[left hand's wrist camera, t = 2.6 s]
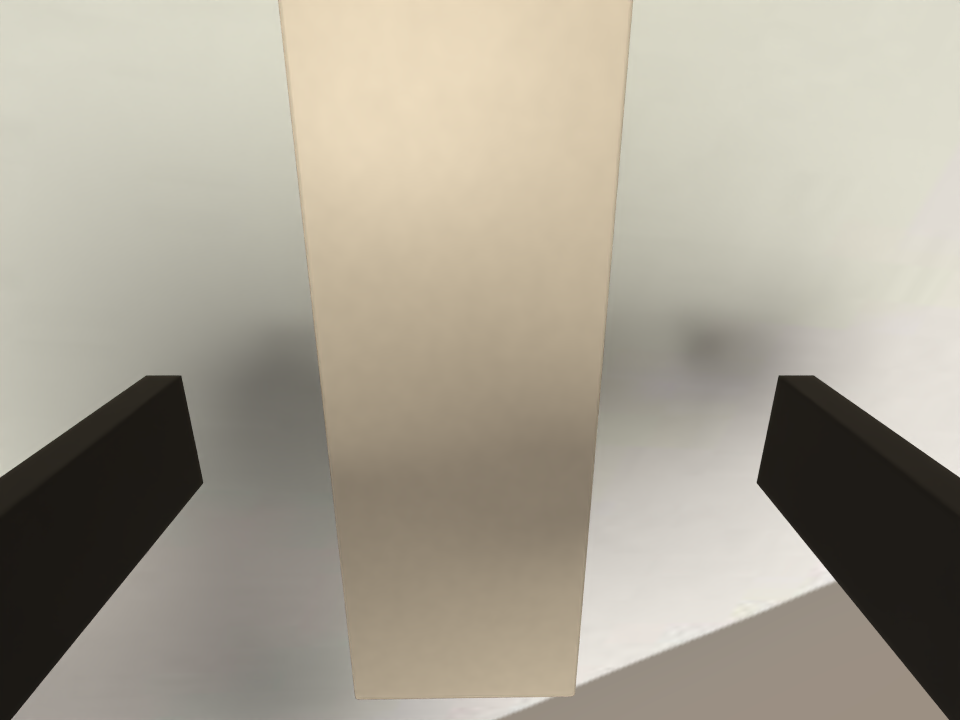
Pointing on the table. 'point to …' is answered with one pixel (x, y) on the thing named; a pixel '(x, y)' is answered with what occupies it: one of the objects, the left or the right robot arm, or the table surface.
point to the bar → (459, 321)
